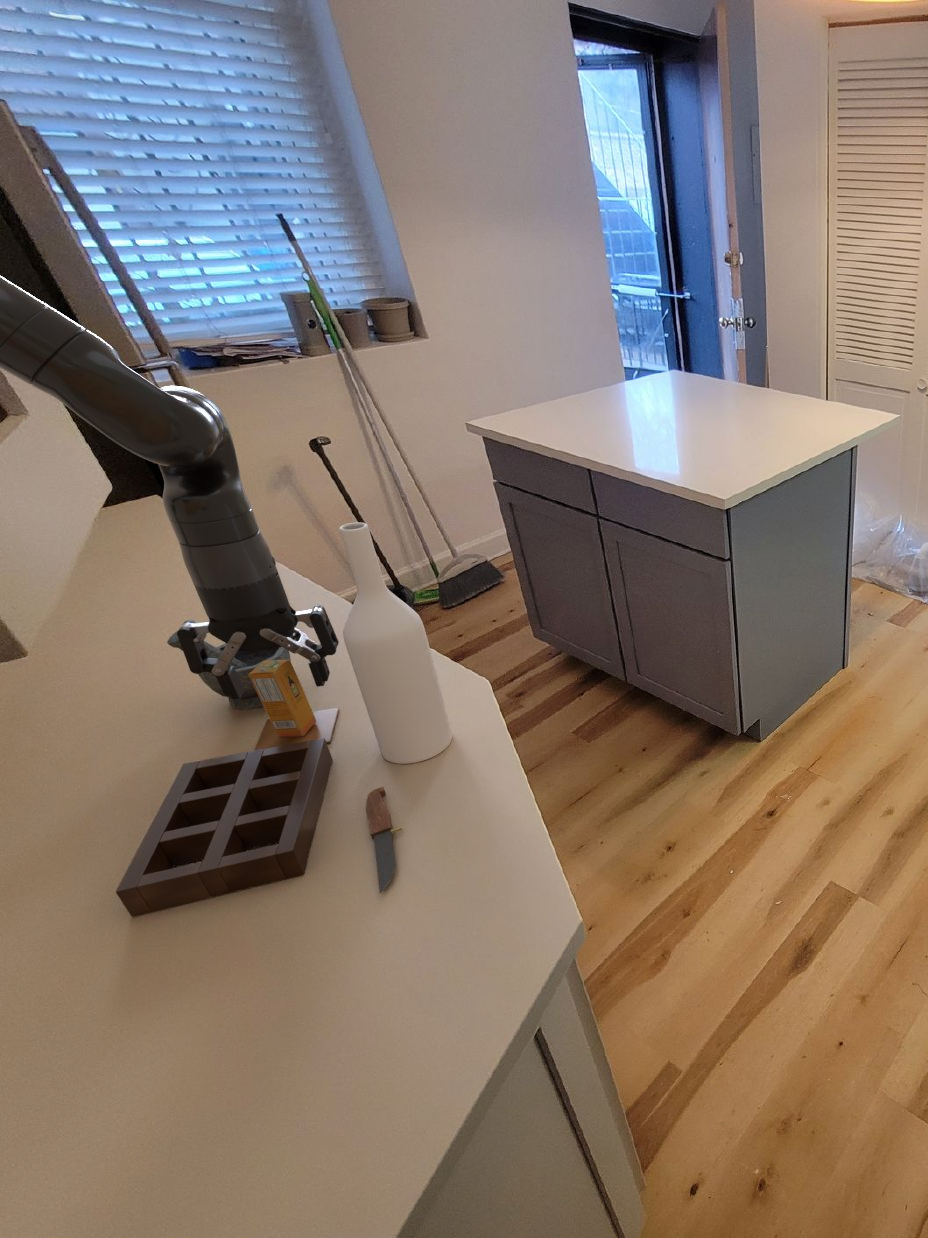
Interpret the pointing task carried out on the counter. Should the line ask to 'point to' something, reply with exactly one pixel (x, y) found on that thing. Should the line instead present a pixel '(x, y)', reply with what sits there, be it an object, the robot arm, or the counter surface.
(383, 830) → the knife
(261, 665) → the supplement box
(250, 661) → the mortar and pestle
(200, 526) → the robot arm
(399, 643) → the bottle
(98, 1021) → the counter surface
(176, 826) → the rack
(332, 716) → the coaster
